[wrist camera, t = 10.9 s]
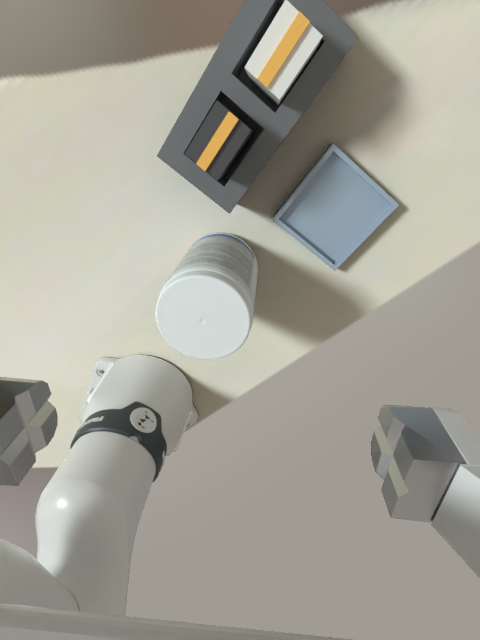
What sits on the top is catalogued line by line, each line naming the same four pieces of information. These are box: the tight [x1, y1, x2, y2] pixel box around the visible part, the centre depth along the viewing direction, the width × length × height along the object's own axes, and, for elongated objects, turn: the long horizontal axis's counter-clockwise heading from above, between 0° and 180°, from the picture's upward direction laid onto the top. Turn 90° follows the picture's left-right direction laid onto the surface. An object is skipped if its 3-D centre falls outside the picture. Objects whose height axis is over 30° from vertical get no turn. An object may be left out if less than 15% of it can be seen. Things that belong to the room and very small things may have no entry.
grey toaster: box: [157, 0, 358, 214], centre depth 32 cm, size 18×9×10 cm, turn 143°
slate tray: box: [272, 144, 399, 271], centre depth 40 cm, size 10×10×2 cm
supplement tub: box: [155, 232, 258, 360], centre depth 39 cm, size 10×10×15 cm
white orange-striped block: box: [244, 0, 323, 106], centre depth 30 cm, size 5×4×8 cm
